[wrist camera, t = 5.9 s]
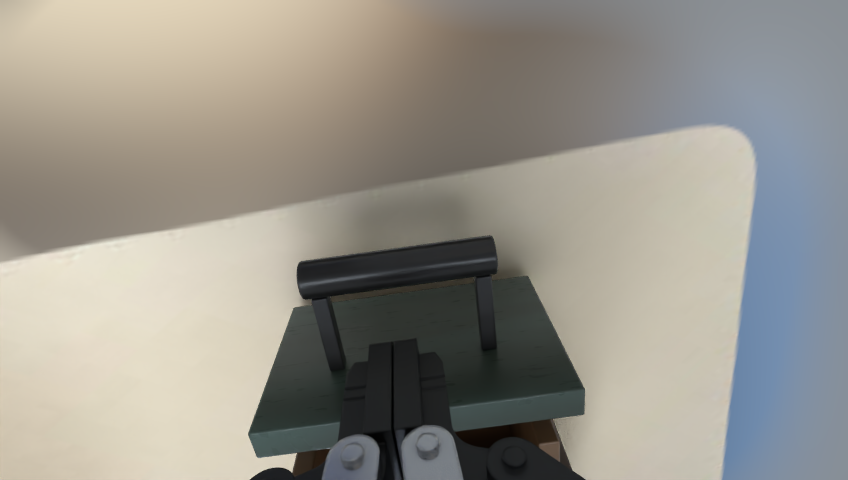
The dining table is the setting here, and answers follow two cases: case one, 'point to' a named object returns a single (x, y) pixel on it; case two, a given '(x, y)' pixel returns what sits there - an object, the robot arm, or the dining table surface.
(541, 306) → the drawer
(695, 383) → the dining table surface
